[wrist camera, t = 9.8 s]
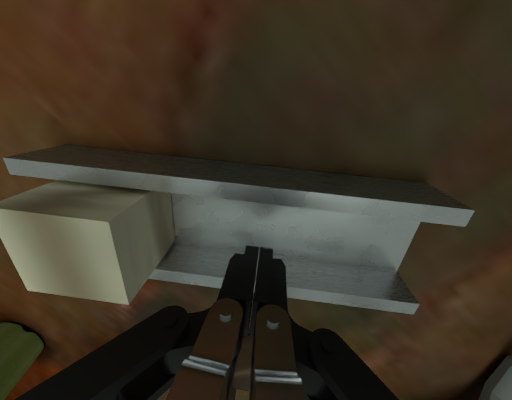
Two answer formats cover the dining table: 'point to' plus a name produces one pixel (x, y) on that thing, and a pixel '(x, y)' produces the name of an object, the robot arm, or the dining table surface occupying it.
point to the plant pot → (16, 354)
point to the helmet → (499, 382)
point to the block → (87, 238)
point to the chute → (270, 219)
